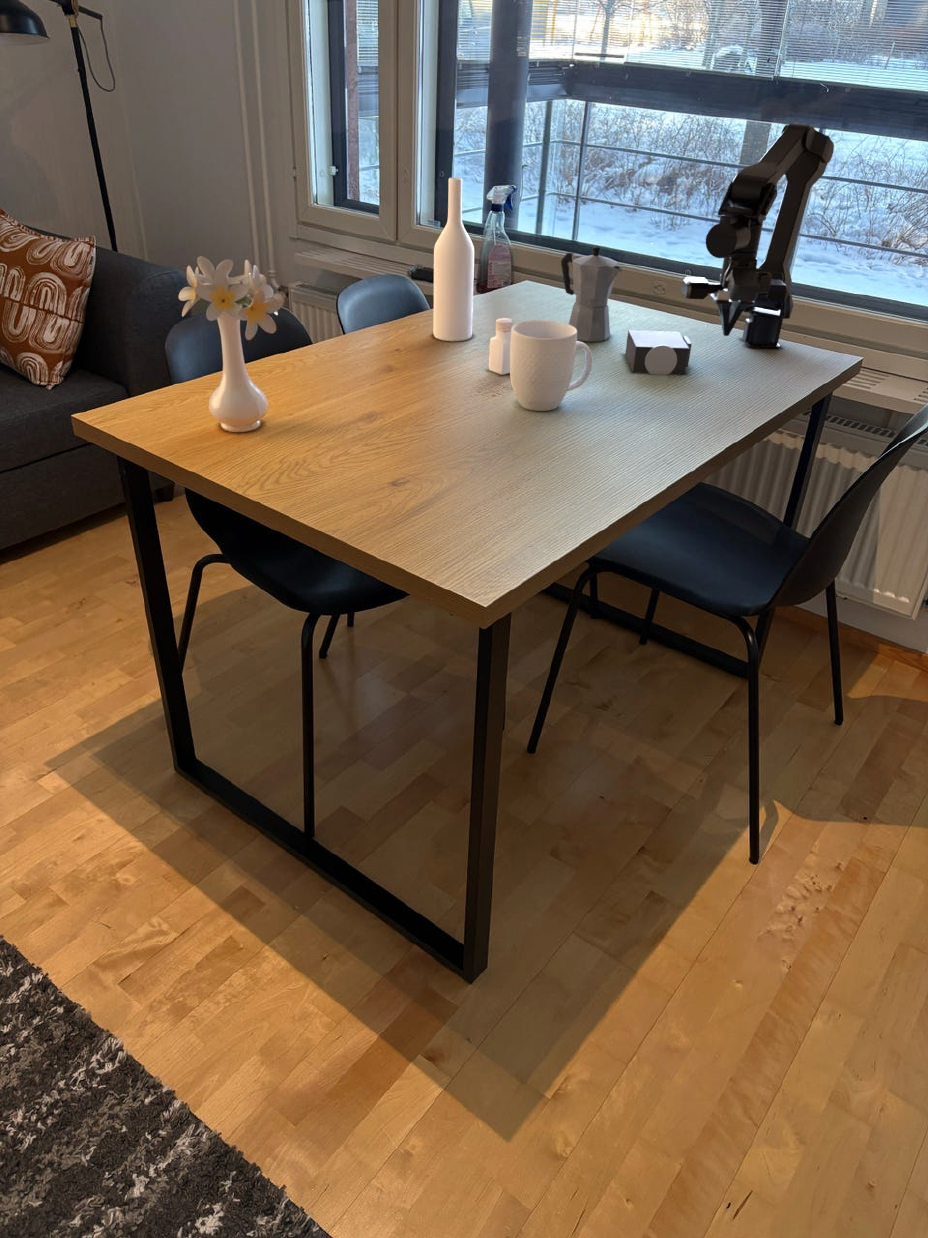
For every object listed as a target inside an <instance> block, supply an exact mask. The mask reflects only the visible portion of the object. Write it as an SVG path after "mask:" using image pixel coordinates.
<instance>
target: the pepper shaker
mask: <svg viewBox="0 0 928 1238" xmlns="http://www.w3.org/2000/svg"><path fill="white" fill-rule="evenodd" d="M513 325H514V319H511V318H507V317H505V318H504V317H502V318H497V319H496V320H495V335H494V336H493V337H491V338H490V339H489V353H488V370H489V371H491V372H493V373H497V374H498V375H501V376H503V375H507V374H510V344H511V343H510V342H511V329H512V327H513Z"/></svg>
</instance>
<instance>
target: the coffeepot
mask: <svg viewBox="0 0 928 1238" xmlns="http://www.w3.org/2000/svg"><path fill="white" fill-rule="evenodd" d="M601 250H602V247H601V246H599V245H594V246H592V254H590V255H586V256H585V255H584V256H583V255H582V254H578V253H574V252H566V254H564V256H563V257H562V259H561V260H560V266H561V267H560V268H561V271H562V278H563V284H564V289H565V293H566V294H568V295H570V296H573V295H575V301H574V303H573V305H572V309H571V313H570V317H569V322H568V324H569V325H571V326H573V327H575V328H576V329H577V341H580V342H588V343H589V342H591V343H593V342H594V343H595V342H602V341H606V340H607V339H609V337H610V335H611V329H610V310H609V309H610V308H609V305H608V303H609V297H610V296H611V295H612V290H613V287H614V282H615V279H616V277H617V276H618V275H619V273H621V272H622V271H623V268H622V267H621V266H620V265H619V261H616V260H614V259H612V258H610V257H606V256H603V255H600V253H601ZM570 263H571V264H572V279H571V276H570V266H569V265H570ZM571 280H573V289H572V288H571V282H572V281H571Z"/></svg>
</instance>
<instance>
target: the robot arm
mask: <svg viewBox="0 0 928 1238" xmlns="http://www.w3.org/2000/svg"><path fill="white" fill-rule="evenodd" d="M834 150H835V144H834V142H833V140H832V139H831V137H830V136H829V135H827V134H824V133H823V132H820V131H818V130H817V129H816V128H815V127H814V126H812V125H810V124H803V123H802V124H801V123H791V122H790V123H789V124H785V125H784V126H783V128H782V131H781V134H780V135H779V137H777V139H776V140H775V141H774V143H773V144H772V145H771V146H770V147H769V149H768V150H767V151H766V152H765V154H764V155H763V156H762V157H761V158H760V160H759V161H758V162H757V163H755V164H751V165H748V166H745V167H744V168H742V170H740V171H739V172H738V173H737V174H736V175H735V177H733V178H732V180H731V181H730V183H729V185H728V188H727V190H726V192H725V195H724V197H723V199H722V202H721V204H720V206H719V209H718V211H717V216H719V222H718V223H716V224H714V225H713V226H712V227H710V229H709V230H708V232H707V234H706V236H705V247H706V251H708V253H709V255H711V256H712V257H714V258H716V259H723V261H722V267H721V273H720V274H719V279H718V281H719V282H709V280H708V279H706V277H703V276H686V277H685V278H683V280H682V282H681V287H680V288H681V289H680V292H681V293H682V295H683V296H684V297H685V298H686V299H689V300H705V299H706V298H707V297H708V296H709V294H710V299H711V300H712V301H713V303H715V304H716V306H717V309H718V313H719V318H720V324H721V329H722V335H723V336H724V337H728V336H730V334H731V332H732V331H733V329H734V327H735V325H736V324H737V322H738V320H739V318H740V316H741V315H742V314H743V313H745V314H746V313H749V314H748V318H746V319H745V321H744V326H743V332H742V337H741V339H742V340H743V342H744V343H745V344H746V345H747V347H748V348H760V349H761V348H763V349H780V348H781V345H780V344H779V339H780V335H781V332H782V331H781V330H782V326H783V321H784V319H785V320H787V319H790V318H791V315H792V312H793V308H794V301H793V295H792V290H791V287H792V283H793V279H792V276H791V272H790V271H791V270H790V266H789V264H790V260H791V257H792V254H793V250H794V247H795V243H796V240H797V236H798V233H799V230H800V226H801V223H802V219H803V216H804V213H805V209H806V206H807V203H808V199H809V195H810V192H811V189H812V187H813V186H814V184H816V183H817V182H818V181H819V179H821V178H822V177H823V176H824V174H825V173H826V169H827V167H828V164H829V163H830V162H831V160H832V158H833V155H834ZM783 176H785V180H786V185H785V188H784V191H783V194H782V195H783V196H782V198H781V201H780V205H779V209H778V212H777V216H776V219H775V223H774V226H773V230H772V234H771V236H770V240H769V244H768V248H767V250H766V254H765V257H764V261H762V263H761V264H760V265H759V266H758V258H757V256H758V253H759V252H758V251H759V247H760V241H761V236H762V231H763V225H764V221H766V220H767V216H768V214H769V212H770V210H771V208H772V206H773V205H774V203H775V201H776V199H777V197H778V184H779V181H780V180H781V179H782V178H783ZM757 266H758V267H757Z"/></svg>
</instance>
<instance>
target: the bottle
mask: <svg viewBox="0 0 928 1238" xmlns="http://www.w3.org/2000/svg"><path fill="white" fill-rule="evenodd" d="M447 199H448V201H447V202H448V203H447V222H446V224H445V226H444V228H443V230H442V231H441V233H440V235H439V237H438V238H437V240H436V242H435V244H434V248H433V318H432V319H433V330H432V331H433V337H434V338H435V339H437V340H441V341H445V342H446V341H447V342H462V341H467V340H469V339H471V338H472V335H473V315H474V314H473V310H474V309H473V308H474V280H475V279H474V278H475V247H474V244H473V241H472V239H471V237H470V236H469V234H468V232H467V230H466V227H465V226H464V223H463V178H461V177H449V178H448V198H447Z"/></svg>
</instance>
